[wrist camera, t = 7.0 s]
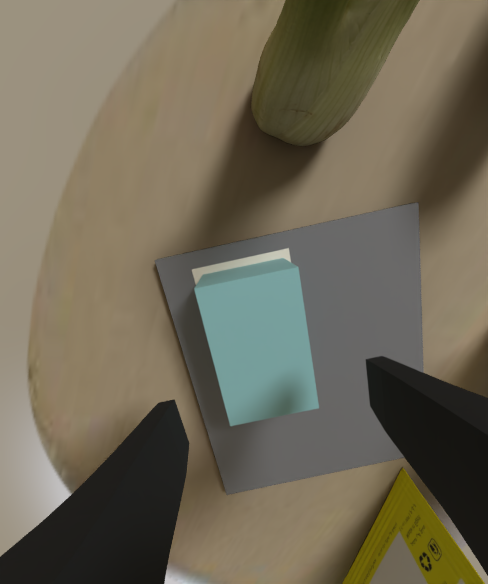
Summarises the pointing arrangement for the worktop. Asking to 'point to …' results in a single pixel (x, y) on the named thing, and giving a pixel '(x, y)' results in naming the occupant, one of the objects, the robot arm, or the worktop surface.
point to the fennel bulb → (323, 64)
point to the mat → (313, 342)
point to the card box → (258, 340)
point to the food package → (409, 545)
